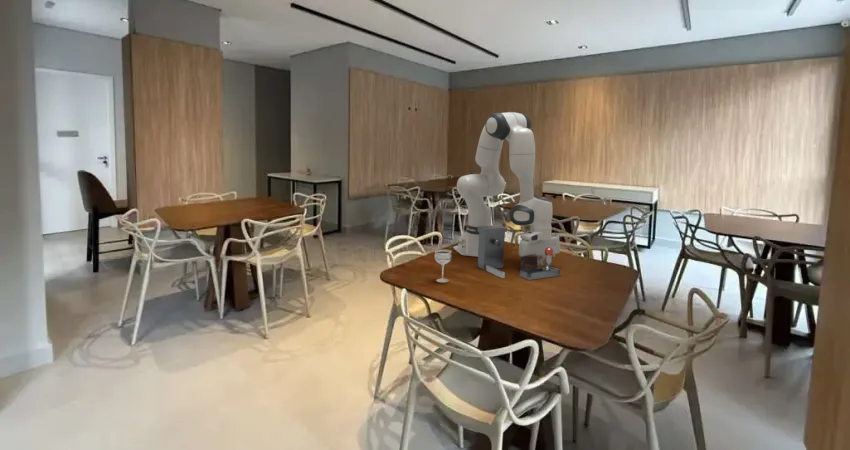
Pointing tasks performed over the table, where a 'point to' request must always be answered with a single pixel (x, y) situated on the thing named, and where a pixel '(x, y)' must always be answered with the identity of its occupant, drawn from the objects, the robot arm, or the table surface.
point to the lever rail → (539, 273)
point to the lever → (548, 259)
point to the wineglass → (442, 260)
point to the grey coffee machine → (491, 249)
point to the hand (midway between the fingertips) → (538, 265)
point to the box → (528, 262)
